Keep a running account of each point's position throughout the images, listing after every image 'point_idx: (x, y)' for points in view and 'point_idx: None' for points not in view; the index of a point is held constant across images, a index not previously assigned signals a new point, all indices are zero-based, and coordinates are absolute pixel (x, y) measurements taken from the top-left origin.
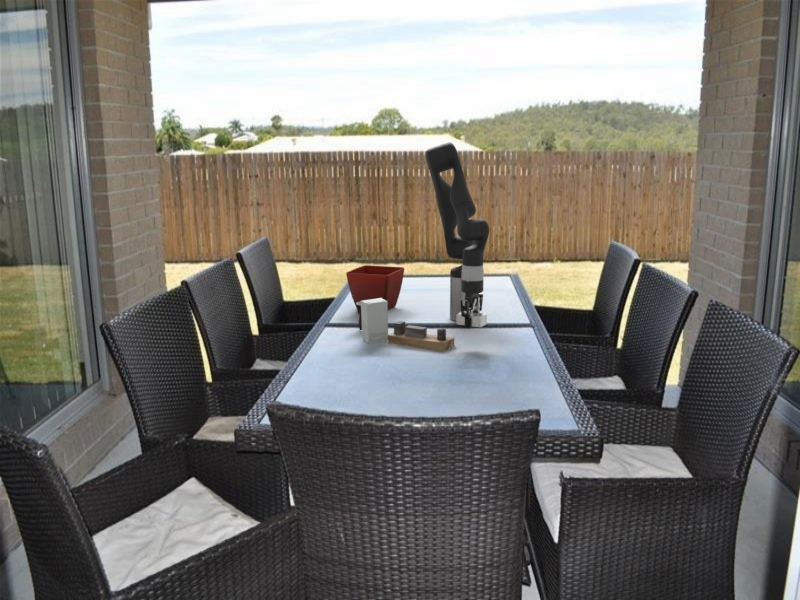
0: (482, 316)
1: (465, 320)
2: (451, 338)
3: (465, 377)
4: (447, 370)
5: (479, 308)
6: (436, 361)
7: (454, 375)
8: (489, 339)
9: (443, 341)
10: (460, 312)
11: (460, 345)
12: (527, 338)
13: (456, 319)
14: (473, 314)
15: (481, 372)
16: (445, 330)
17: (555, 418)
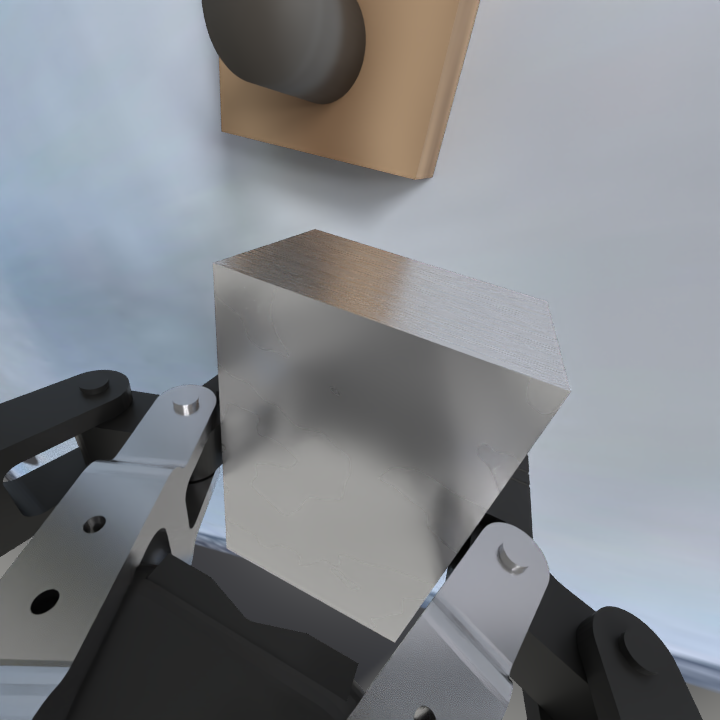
0: (270, 571)
1: (217, 381)
2: (372, 158)
3: (50, 318)
4: (52, 241)
5: (535, 701)
6: (98, 148)
7: (37, 279)
8: (669, 435)
9: (256, 104)
10: (397, 331)
11: (455, 229)
12: (678, 623)
13: (276, 243)
14: (315, 517)
15: (114, 367)
16: (256, 84)
17: (29, 471)
